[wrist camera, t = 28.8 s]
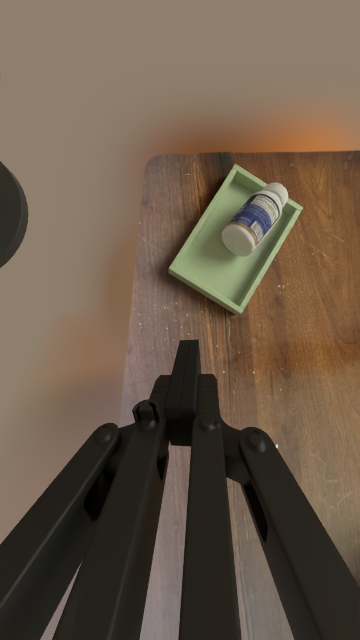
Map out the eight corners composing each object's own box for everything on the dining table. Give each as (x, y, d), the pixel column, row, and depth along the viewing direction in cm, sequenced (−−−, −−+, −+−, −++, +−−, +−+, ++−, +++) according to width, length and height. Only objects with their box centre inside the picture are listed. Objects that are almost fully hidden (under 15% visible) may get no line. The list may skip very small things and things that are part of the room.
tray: (235, 315, 28) (241, 313, 26) (168, 273, 28) (168, 268, 26) (293, 216, 30) (303, 207, 28) (230, 176, 30) (235, 163, 27)
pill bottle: (218, 245, 29) (253, 202, 30) (246, 263, 28) (282, 218, 29) (222, 221, 24) (265, 169, 24) (257, 241, 22) (301, 187, 23)
